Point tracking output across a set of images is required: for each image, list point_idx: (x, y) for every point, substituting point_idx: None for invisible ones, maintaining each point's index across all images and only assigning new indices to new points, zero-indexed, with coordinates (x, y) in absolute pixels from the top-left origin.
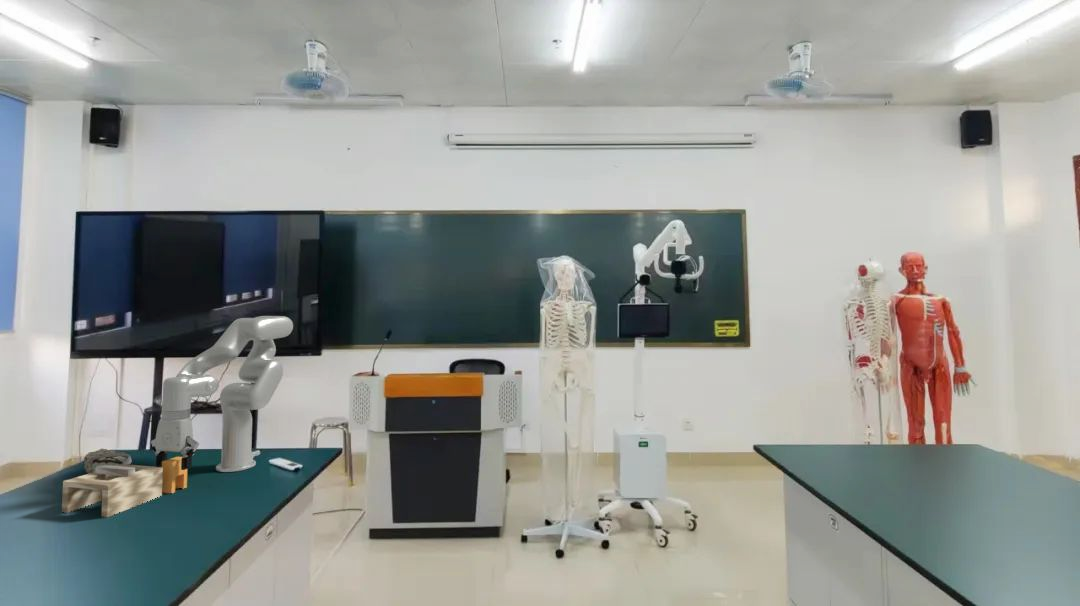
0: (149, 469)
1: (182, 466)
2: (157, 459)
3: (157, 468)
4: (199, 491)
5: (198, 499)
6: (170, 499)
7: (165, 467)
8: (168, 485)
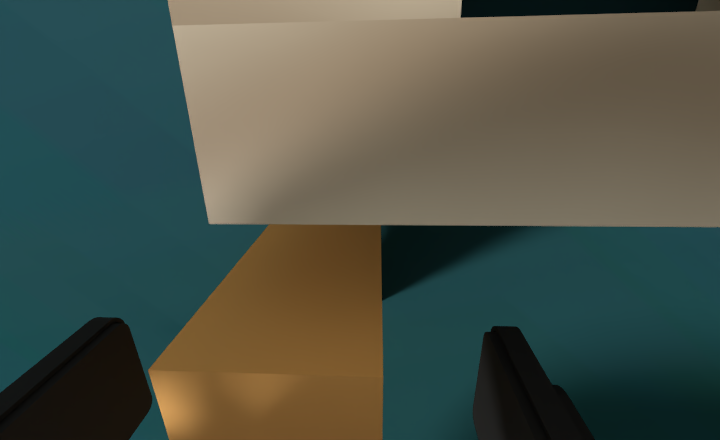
0: (325, 64)
1: (61, 344)
2: (547, 431)
3: (236, 155)
4: (159, 264)
5: (11, 150)
6: (186, 106)
7: (318, 309)
8: None
